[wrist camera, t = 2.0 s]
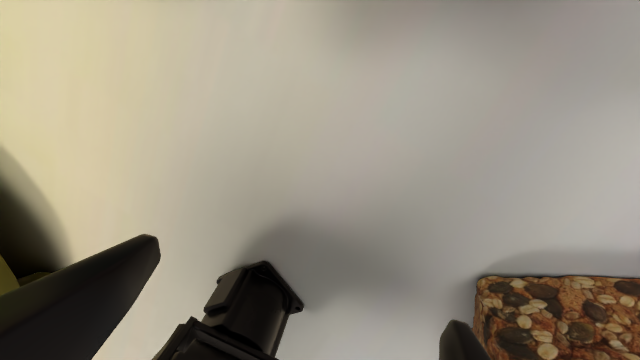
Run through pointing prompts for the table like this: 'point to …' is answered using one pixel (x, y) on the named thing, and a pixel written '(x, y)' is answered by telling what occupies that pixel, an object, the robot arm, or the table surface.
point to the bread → (558, 318)
